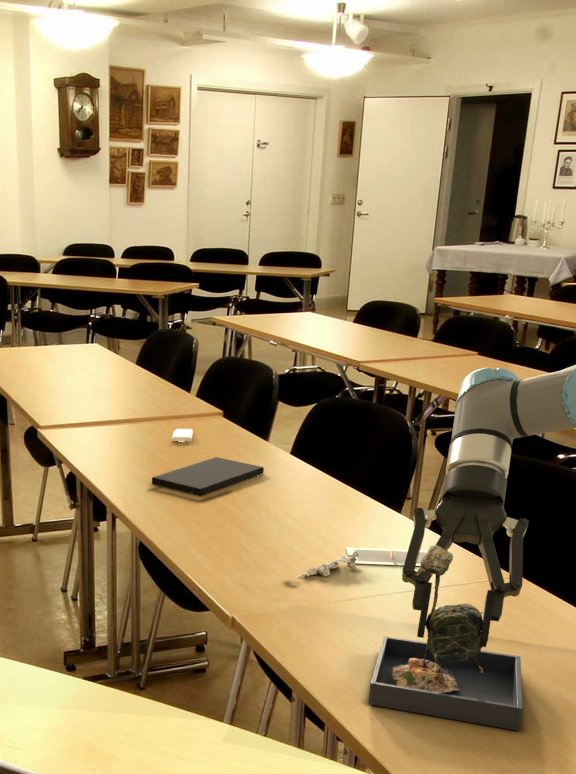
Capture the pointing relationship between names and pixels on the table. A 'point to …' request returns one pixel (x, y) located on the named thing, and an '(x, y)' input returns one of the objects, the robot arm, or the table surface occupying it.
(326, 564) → the lizard figurine
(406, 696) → the tray
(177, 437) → the white flat block
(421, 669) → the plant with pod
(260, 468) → the dark grey flat slab
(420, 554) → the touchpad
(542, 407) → the robot arm
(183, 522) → the table surface
